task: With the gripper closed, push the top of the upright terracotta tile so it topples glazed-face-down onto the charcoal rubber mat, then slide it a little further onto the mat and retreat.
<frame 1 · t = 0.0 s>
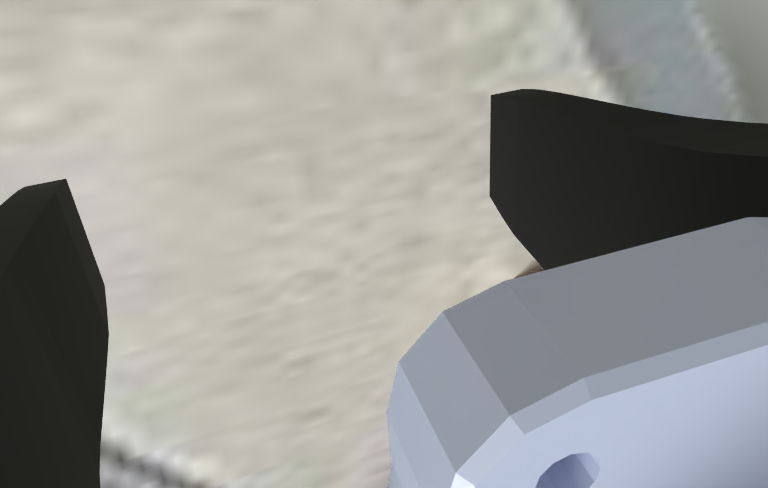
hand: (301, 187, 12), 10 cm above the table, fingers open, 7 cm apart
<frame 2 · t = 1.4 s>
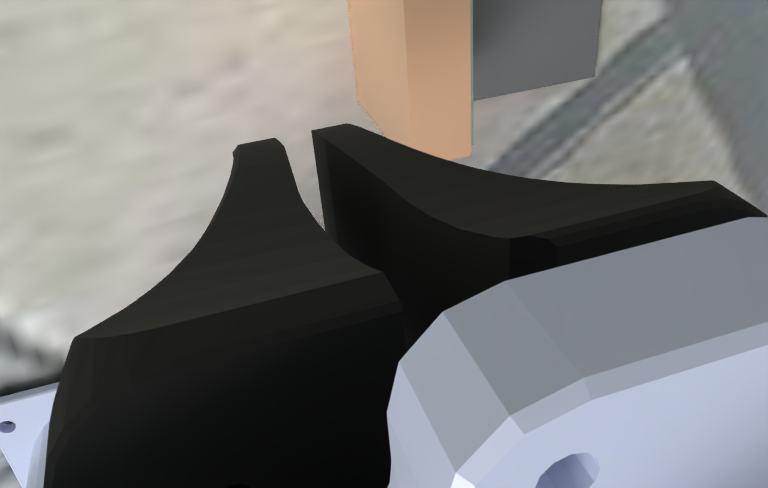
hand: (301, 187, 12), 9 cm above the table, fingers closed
tile: (375, 16, 20), on the table
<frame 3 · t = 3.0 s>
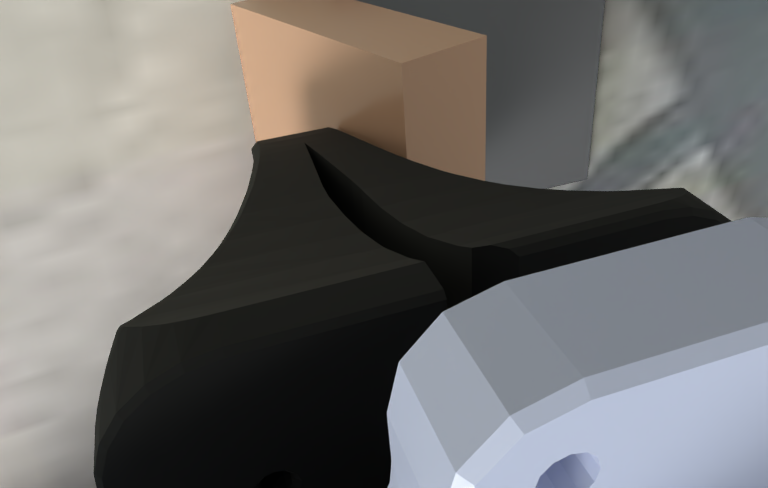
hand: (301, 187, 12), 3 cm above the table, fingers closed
tile: (287, 118, 15), on the table, tilted 20°
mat: (471, 80, 16), on the table
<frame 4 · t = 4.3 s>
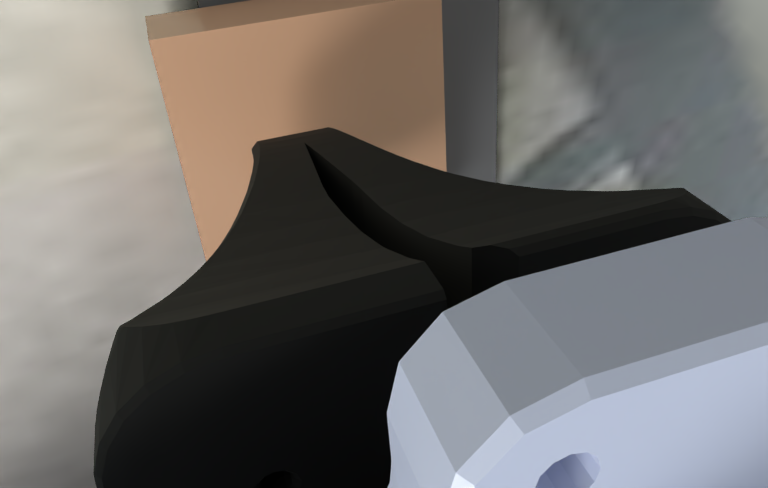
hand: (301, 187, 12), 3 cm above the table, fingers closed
tile: (181, 161, 13), point 1 cm above the table, tilted 90°, touching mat
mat: (362, 98, 15), on the table
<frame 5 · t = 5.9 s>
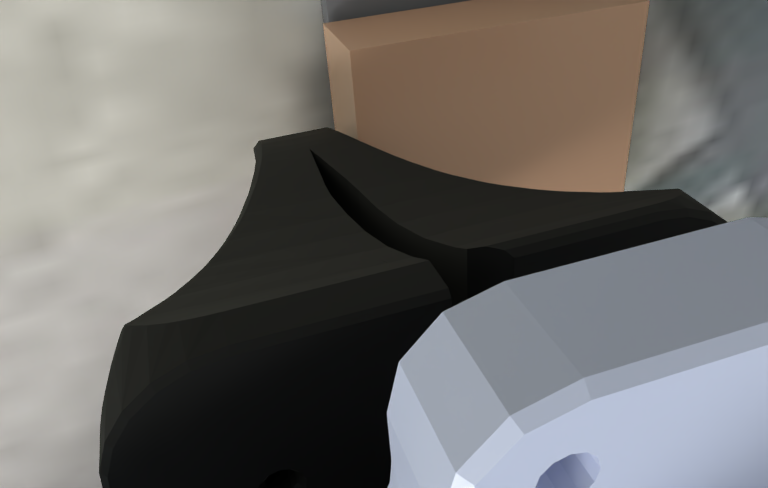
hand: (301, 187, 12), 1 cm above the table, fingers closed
tile: (350, 180, 12), point 1 cm above the table, tilted 90°, touching gripper
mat: (483, 118, 14), on the table
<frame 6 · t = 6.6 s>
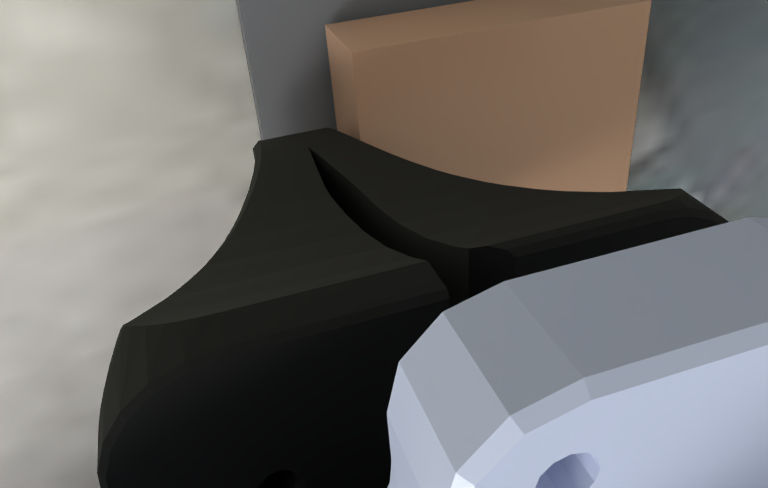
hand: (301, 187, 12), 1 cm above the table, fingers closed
tile: (353, 181, 12), point 1 cm above the table, tilted 90°, touching gripper, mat
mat: (418, 130, 13), on the table
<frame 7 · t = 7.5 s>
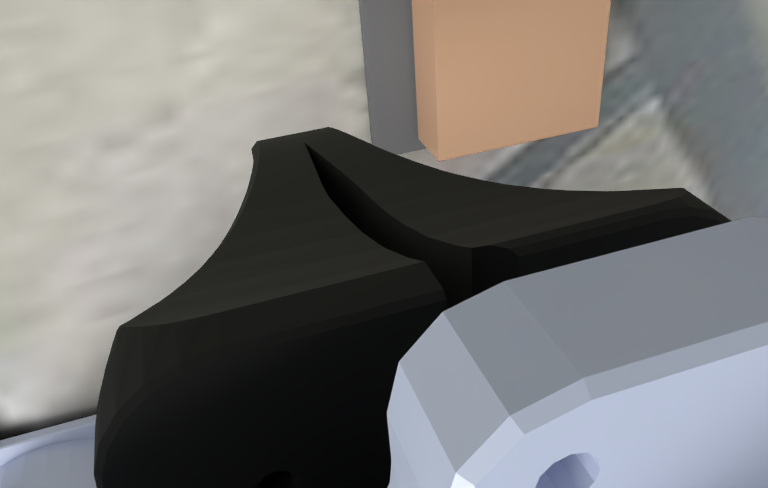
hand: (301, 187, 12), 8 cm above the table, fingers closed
tile: (424, 64, 19), point 1 cm above the table, tilted 90°, touching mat
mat: (463, 38, 20), on the table
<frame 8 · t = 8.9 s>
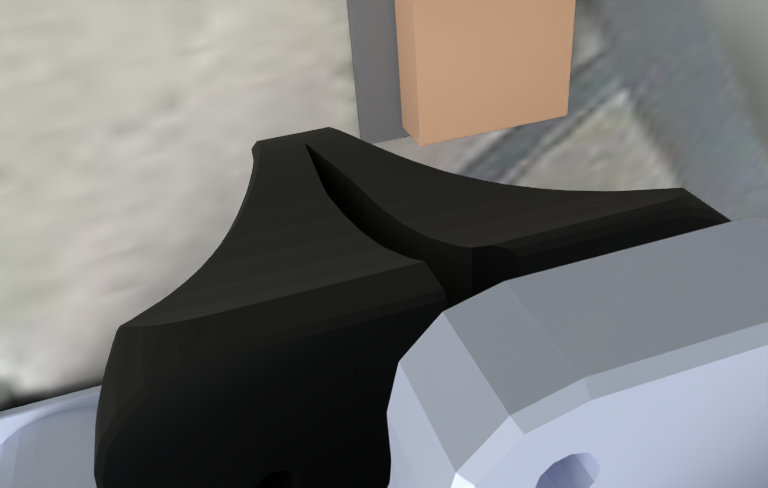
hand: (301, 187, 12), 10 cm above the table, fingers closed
tile: (406, 57, 20), point 1 cm above the table, tilted 90°, touching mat
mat: (443, 34, 22), on the table
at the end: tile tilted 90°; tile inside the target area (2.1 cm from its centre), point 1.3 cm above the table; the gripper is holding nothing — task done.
